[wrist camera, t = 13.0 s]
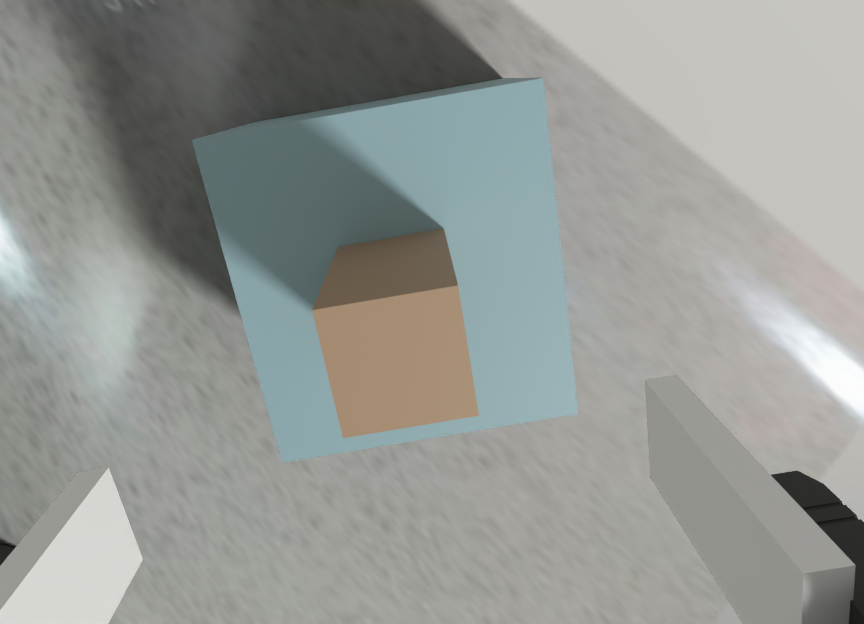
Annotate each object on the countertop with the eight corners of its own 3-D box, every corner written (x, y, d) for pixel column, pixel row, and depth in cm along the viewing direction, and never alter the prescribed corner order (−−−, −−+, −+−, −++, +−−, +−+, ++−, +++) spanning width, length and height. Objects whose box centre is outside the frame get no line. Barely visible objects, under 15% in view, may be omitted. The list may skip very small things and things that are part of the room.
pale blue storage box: (314, 363, 47) (241, 587, 26) (254, 121, 41) (102, 165, 21) (533, 326, 46) (634, 524, 26) (502, 78, 41) (600, 77, 20)
